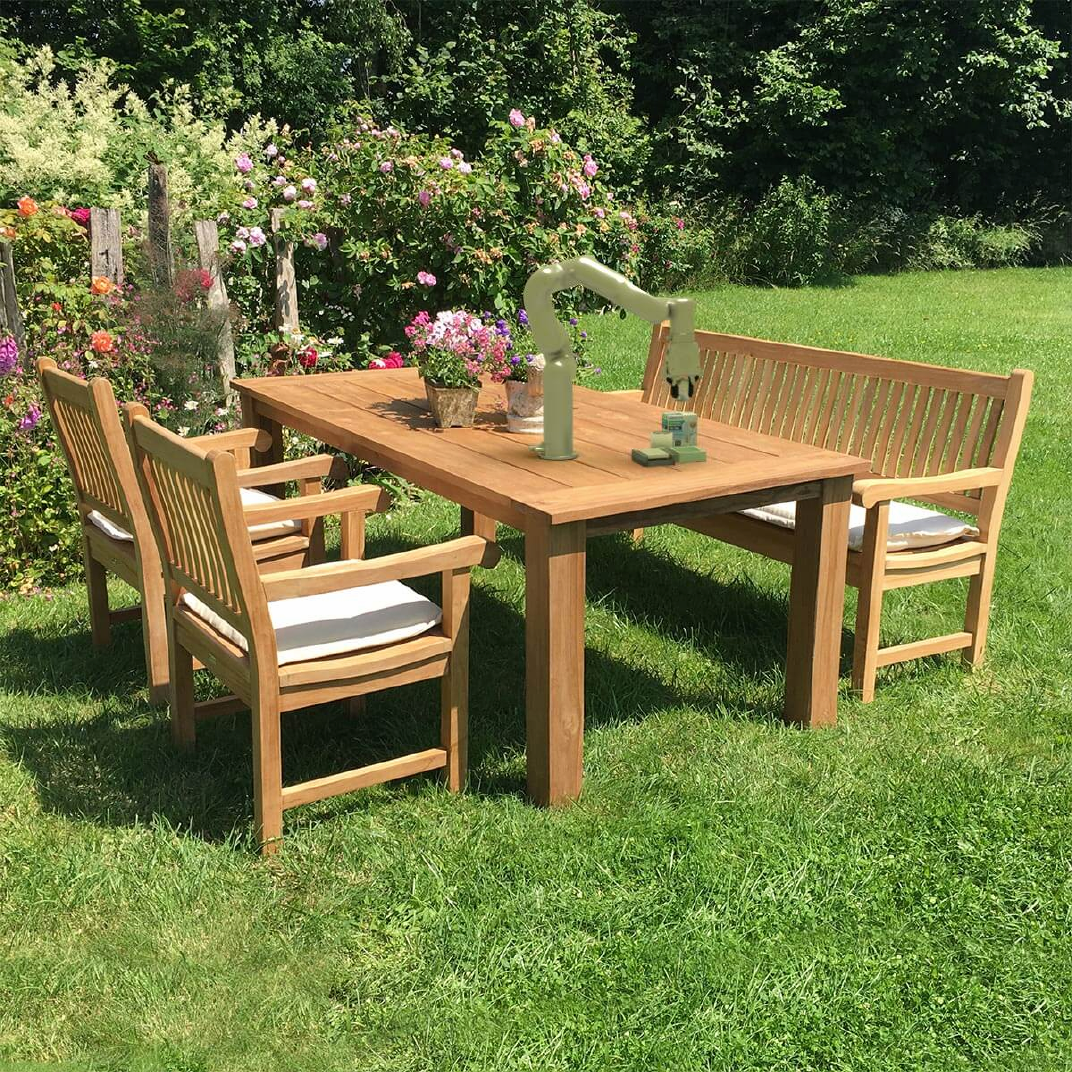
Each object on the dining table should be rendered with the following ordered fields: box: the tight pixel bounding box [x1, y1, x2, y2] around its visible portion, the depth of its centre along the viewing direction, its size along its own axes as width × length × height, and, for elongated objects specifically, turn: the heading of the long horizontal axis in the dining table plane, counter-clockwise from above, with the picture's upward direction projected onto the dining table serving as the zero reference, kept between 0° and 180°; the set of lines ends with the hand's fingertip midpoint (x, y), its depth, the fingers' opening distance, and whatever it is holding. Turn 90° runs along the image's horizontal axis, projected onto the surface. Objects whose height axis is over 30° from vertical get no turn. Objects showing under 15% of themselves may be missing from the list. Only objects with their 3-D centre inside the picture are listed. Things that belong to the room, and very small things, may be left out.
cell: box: [674, 377, 690, 403], centre depth 373 cm, size 4×4×7 cm
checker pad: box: [637, 448, 669, 459], centre depth 376 cm, size 7×10×1 cm
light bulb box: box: [661, 411, 699, 448], centre depth 401 cm, size 11×7×11 cm, turn 105°
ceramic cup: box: [649, 430, 673, 451], centre depth 388 cm, size 7×7×7 cm
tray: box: [669, 445, 707, 464], centre depth 380 cm, size 9×9×3 cm
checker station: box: [630, 447, 676, 468], centre depth 376 cm, size 10×12×3 cm
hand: (682, 396), depth 374 cm, fingers closed on cell, 4 cm apart
